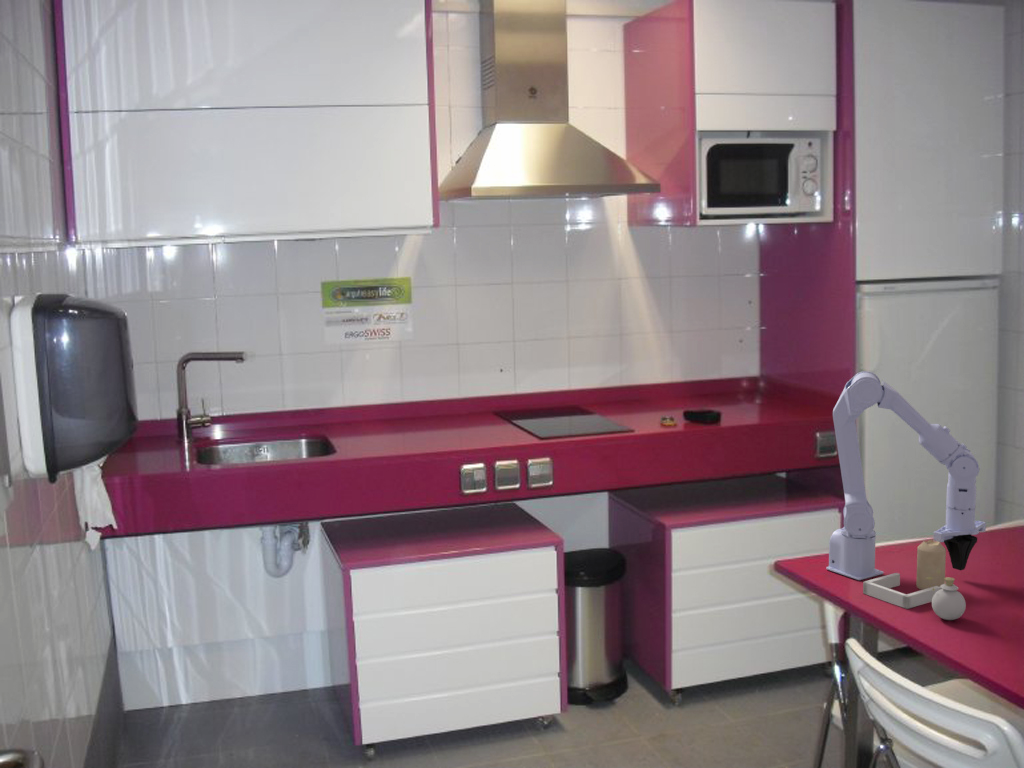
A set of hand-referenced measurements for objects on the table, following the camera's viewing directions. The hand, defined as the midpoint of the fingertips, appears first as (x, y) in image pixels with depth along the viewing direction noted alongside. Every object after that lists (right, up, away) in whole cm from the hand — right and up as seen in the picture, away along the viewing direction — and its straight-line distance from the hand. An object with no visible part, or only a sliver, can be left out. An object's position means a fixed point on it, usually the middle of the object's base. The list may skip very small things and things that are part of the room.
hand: (958, 568), depth 222 cm
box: (-15, -4, -8) cm, 17 cm away
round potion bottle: (-12, -6, -21) cm, 25 cm away
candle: (-8, -3, -4) cm, 9 cm away
